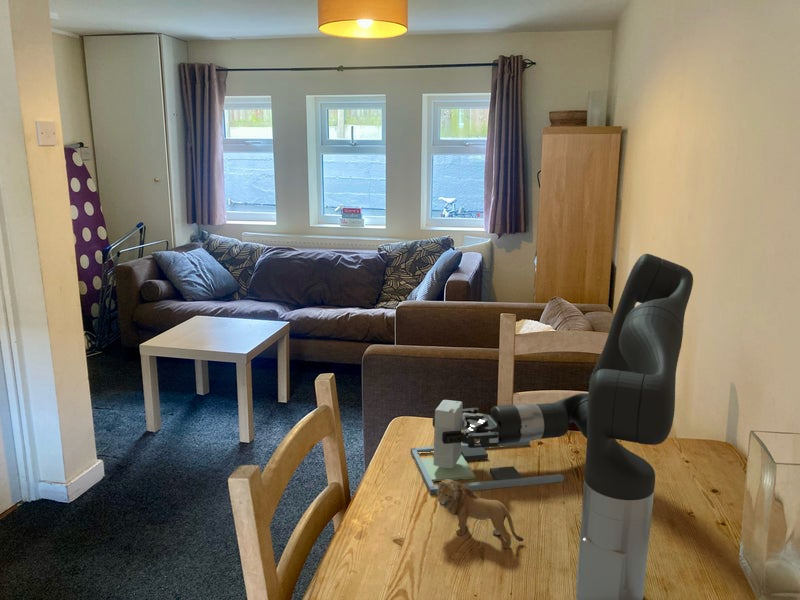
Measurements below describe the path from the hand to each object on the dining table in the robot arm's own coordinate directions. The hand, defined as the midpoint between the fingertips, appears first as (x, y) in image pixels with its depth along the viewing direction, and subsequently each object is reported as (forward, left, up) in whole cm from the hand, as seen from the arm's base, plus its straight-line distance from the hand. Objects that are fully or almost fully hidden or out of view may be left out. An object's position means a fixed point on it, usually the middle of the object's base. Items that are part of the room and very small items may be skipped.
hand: (437, 430), depth 125 cm
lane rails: (+8, -7, -9) cm, 13 cm away
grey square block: (+6, -12, -9) cm, 16 cm away
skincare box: (+2, -1, -7) cm, 8 cm away
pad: (+2, -1, -9) cm, 9 cm away
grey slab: (+11, -2, -9) cm, 14 cm away
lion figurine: (-14, -18, -9) cm, 25 cm away
